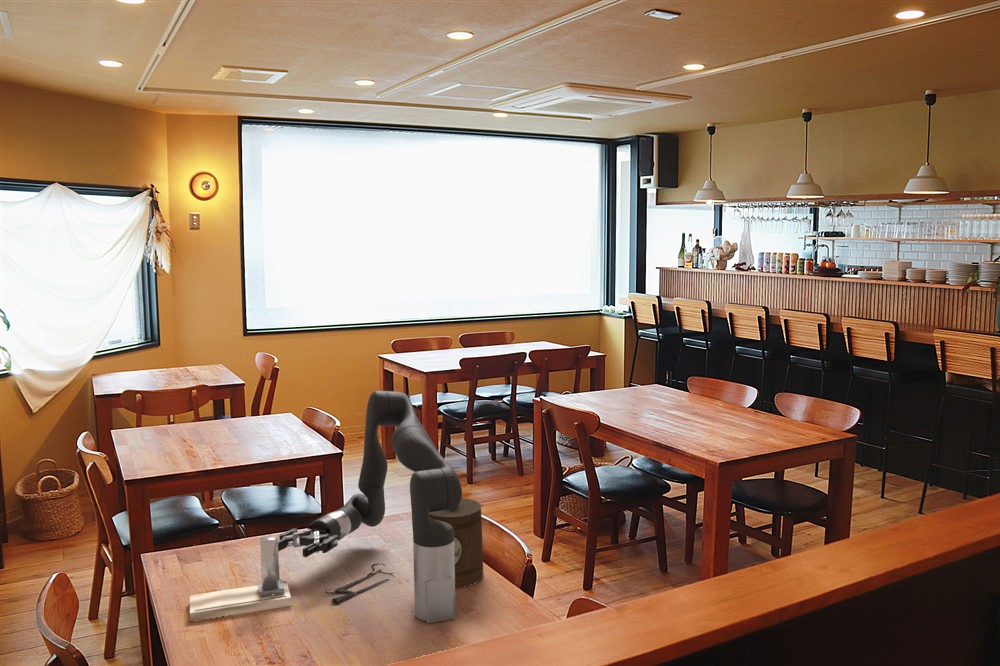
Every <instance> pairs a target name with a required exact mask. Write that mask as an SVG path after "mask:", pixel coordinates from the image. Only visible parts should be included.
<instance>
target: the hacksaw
mask: <svg viewBox="0 0 1000 666" xmlns="http://www.w3.org/2000/svg"><path fill="white" fill-rule="evenodd" d="M377 564H378V563H374V564H372V565H371V569H372V572H370V573H369V572H368V574H367V575H366V576H363V577H361V578H358V579H356V580H354V581H353V582H352V581H351V582H350V583H348V584H345V585H342V586H340V587H338V588H334V589H335V590H334V591H332V592H327V591H329V590H331V588H329V589H328V588H327V589H326V590H325V591H324V593H325V594H327V595H331V594H332V595H333V594H337V593H338V594H343V593H345V594H344V595H341V596H336V597H333V598H332V599H331V601H330V603H331V604H334V605H339V604H341V603H343V602H344V600H345V601H347V600H349V599H351V598H353V597H355V595H356V596H358V595H357V594H361V593H363V592H366V591H367V590H371V589H372V588H374V587H376V586H379V585H382V584H383V583H385V582H388V581H390V580H389V579H387V578H385V579H386V580H385V579H382V580H381V581H378V582H376V583H373V584H371V585H368V586H365V587H364V588H361V589H359V590H357V591H352V590H349V588H352V587H353V586H355V585H358V584H360V583H362V582H364V581H366V580H368V579H370V578H372V577H374V576H375V575H377V574H381V573H383V574H382V575H390V574H394V573H393V572H385V571H383V570H382V571H381V569H377V570H376V569H375V568H374V567H375V566H377ZM382 564H383V565H382V566H384V565H386V564H385V563H382ZM374 571H375V572H374ZM373 572H374V573H373ZM378 572H379V573H378ZM342 601H343V602H342ZM340 602H341V603H340Z"/></svg>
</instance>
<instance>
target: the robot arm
mask: <svg viewBox="0 0 1000 666" xmlns="http://www.w3.org/2000/svg"><path fill="white" fill-rule="evenodd" d="M367 401H368V402H367V405H366V411H365V414H366V415H365V426H364V442H363V443H364V444H363V456H362V458H363V459H362V462H361V463H362V464H361V468H360V474H359V478H358V485H357V486H358V489H359V491H360V492H361V493H355V494H353V495H352V496H351V497H350V499H349V500H347V502H346V503H345V504H344V505H343V506H342V507H341V508H338V509H337V510H335V511H331V512H329V513H327V514H325V515H322V516H320V517H318V518H317V519H315V520H312V522H311V523H309V525H308V526H307V529H303V530H301V531H298V528H291V529H289V530H287V531H284V532H283V533H280V534H279V535H278V536H279V537H278V553H279V552H281V551H282V550H284V549H287V548H288V547H294V548H300V547H303V548H302V557H304V558H307V557H309V556H311V555H313V554H315V553H316V554H318V553H320V552H321V553H322V554H326V553H328V552H330V551H331V550H333V549H334V548H336V547H337V546H338V544H339V541H341V540H342V539H344V538H345V537H346V536H348V535H350V534H351V533H353V532H355V531H356V530H358V529H359V528H360V526H361V525H362V524H364V525H366V526H367V527H372V528H374V527H377V526H378V525H380V524H381V523H382V521H383V519H384V517H385V514H386V513H385V512H386V502H385V490H384V488H385V484H386V482H385V481H386V478H387V477H386V476H387V474H388V459H387V457H386V453H385V452H384V449H383V448H382V445H381V443H380V440H379V436H378V430H379V426H384V427H396V428H395V429H394V431H393V434H392V437H391V446H392V449H393V452H394V454H395V456H396V457H397V459H398V461H399V462H400V463H401V465H402V466H403V467H405V468H407V469H408V470H410V471H412V472H413V473H412V475H411V477H410V482H409V494H410V505H411V508H410V509H411V519H412V520H411V523H412V524H411V525H412V527H411V528H412V536H413V537H412V541H413V542H412V543H413V544H412V547H413V548H412V549H413V550H412V551H413V553H412V554H413V556H412V557H413V587H414V588H413V593H414V598H413V599H414V615H415V617H416V618H417V619H418V620H420V621H424V622H426V624H433V623H438V622H445V621H450V620H454V619H455V615H456V613H457V612H456V588H455V555H454V528H453V527H452V526H451V525H450V524H448V523H446V522H443V521H438V520H434V519H432V518H430V517H429V512H434V511H442V510H448V509H452V508H454V507H456V506H458V505H459V503H460V502H461V499H462V498H463V490H462V483H461V481H460V479H459V476H458V474H457V472H456V471H455V470H454V468H453V467H452V466H451V465H450V463H448V462H447V460H446V459H445V458H444V457H443V456H442V454H440V452H439V451H438V449H437V447H436V445H435V444H434V442H433V441H432V438H431V436H430V435H429V434H428V431H426V429H425V428H424V426H423V425H422V422H421V421H420V419H419V417H418V415H417V413H416V411H415V408H414V406H413V404H412V401H411V398H410V397H409V396H408V394H406V393H404V392H401V391H393V390H391V391H389V390H374V391H372V392H371V394H370V395H369V397H368V399H367ZM297 539H298V541H299V542H297Z"/></svg>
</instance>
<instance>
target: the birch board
mask: <svg viewBox="0 0 1000 666" xmlns="http://www.w3.org/2000/svg"><path fill="white" fill-rule="evenodd" d="M282 582H283V585H284V593H285V595H278V596H274V597H265V598H260V595H259V590H258V584H257V585H250V586H244V587H237V588H231V589H230V588H229V589H222V590H217V591H211V592H204V593H196V594H190V595H189V619H190V621H193V622H196V621H195V620H199V621H204V620H203V619H206V620H210V619H209V618H212V619H217V618H216V617H218V618H222V616H224V617H229V615H231V616H236V615H241V614H248V613H255V612H256V613H257V612H261V611H262V612H263V611H268V610H273V609H274V610H275V609H280V608H286V607H292V596H291V592H290V588H289V585H288V582H287V580H284V581H283V580H282ZM190 621H189V622H190Z"/></svg>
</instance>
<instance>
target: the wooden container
mask: <svg viewBox="0 0 1000 666" xmlns="http://www.w3.org/2000/svg"><path fill="white" fill-rule="evenodd" d="M481 506H482V505H481V504H480V503H479V502H478V501H476V500H474V499H471V498H466V497H465V498H464V497H462V499H461V502H460V503H459V505H458V506H456V507H454V508H452V509H448V510H442V511H434V512H429V517H430V518H432V519H434V520H438V521H443V522H446V523H448V524H450V525H451V526H452V527H453V528H454V555H455V589H459V587H462V588H465V587H464V586H467V587H470V586H472V585H471V584H473V585H475V584H477V583H479V582H481V580H482V579H483V578H482V577H483V576H484V547H483V546H484V545H483V544H484V543H483V527H482V526H483V525H482V524H483V523H482V507H481ZM478 581H479V582H478ZM476 582H477V583H476ZM474 583H475V584H474ZM469 585H470V586H469Z"/></svg>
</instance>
